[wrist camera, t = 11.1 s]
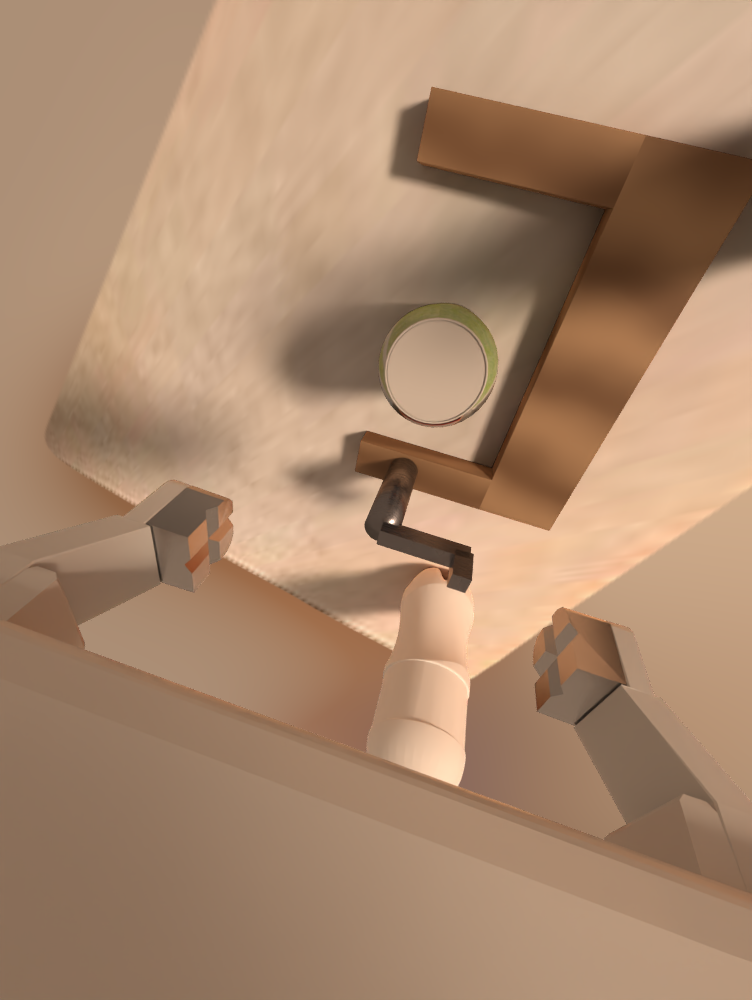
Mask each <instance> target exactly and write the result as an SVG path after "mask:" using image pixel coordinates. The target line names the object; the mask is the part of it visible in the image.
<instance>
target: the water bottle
mask: <svg viewBox="0 0 752 1000" xmlns="http://www.w3.org/2000/svg"><path fill="white" fill-rule="evenodd" d="M473 621H474V603H473V597H472V593H471V591H470V588H469V587H468V589H467V591H466V593H463V592H460V591H457V590H454V589H451V588H448V587H447V580H444V579H443V577H442V574H441V571H440V569H439V568H434V567H433V568H428V569H425V570H423V571H421V572H420V573H419V574H418V575H417V576H416V577H415V578H414V579H413V580H412V582H411V583H410V584H409V585H408V586H407V588H406V589H405V591H404V594H403V596H402V600H401V604H400V627H399V632H398V637H397V640H396V644H395V647H394V649H393V652H392V654H391V656H390V658H389V660H388V662H387V663H386V665H385V668H384V672H383V683H382V687H381V691H380V695H379V699H378V703H377V707H376V711H375V715H374V719H373V724H372V727H371V728H370V730H369V733H368V738H367V753H369V754H371V755H374V756H377V757H380V758H382V759H385V760H388V761H390V762H393V763H396V764H399V765H401V766H404V767H407V768H409V769H412V770H415V771H418V772H420V773H423V774H426V775H429V776H431V777H434V778H437V779H439V780H442V781H445V782H448V783H450V784H453V785H456V786H458V785H459V783H460V780H461V778H462V774H463V771H464V765H465V760H466V758H465V757H466V756H465V751H464V748H465V731H466V715H467V700H468V697H469V693H470V677H469V673H468V667H467V656H466V655H467V642H468V637H469V633H470V630H471V628H472V625H473Z"/></svg>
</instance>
